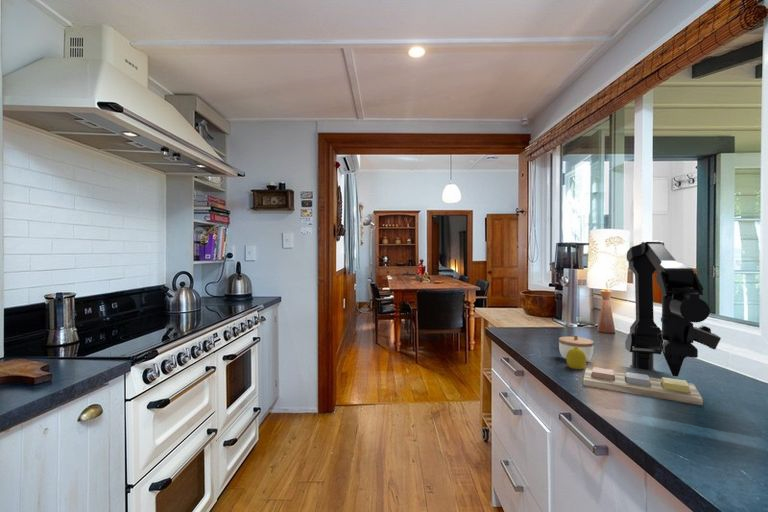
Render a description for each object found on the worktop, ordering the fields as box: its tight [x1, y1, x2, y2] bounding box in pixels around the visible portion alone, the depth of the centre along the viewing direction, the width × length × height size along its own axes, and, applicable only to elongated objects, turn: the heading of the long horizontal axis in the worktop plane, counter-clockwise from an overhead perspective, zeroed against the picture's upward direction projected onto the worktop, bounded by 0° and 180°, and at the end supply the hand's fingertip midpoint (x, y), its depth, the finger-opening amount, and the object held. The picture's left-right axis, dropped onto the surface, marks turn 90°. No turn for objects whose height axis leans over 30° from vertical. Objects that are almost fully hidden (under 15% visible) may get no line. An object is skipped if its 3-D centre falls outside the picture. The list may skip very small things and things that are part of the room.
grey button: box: [625, 371, 650, 387], centre depth 99 cm, size 5×5×3 cm
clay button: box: [592, 366, 615, 381], centre depth 103 cm, size 5×5×3 cm
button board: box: [582, 367, 704, 406], centre depth 99 cm, size 12×25×3 cm, turn 58°
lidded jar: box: [558, 334, 595, 362], centre depth 127 cm, size 11×11×9 cm
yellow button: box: [661, 376, 689, 393], centre depth 95 cm, size 5×5×3 cm
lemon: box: [565, 347, 587, 370], centre depth 116 cm, size 6×6×8 cm
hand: (675, 376), depth 95 cm, fingers closed
